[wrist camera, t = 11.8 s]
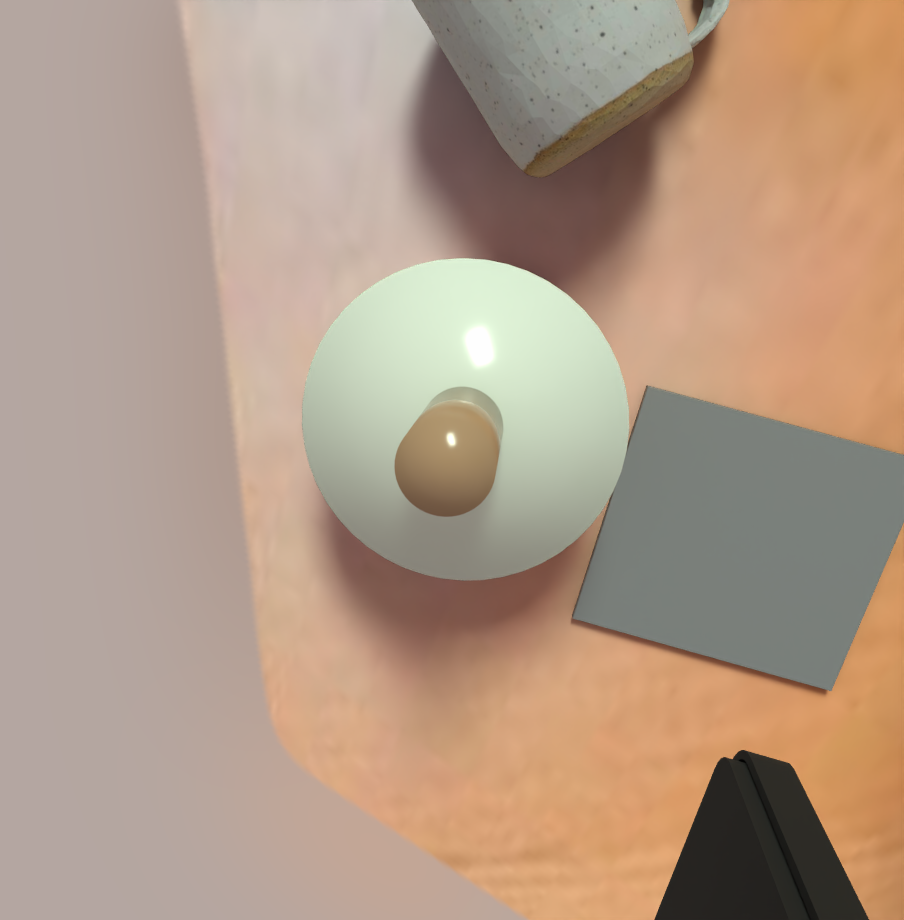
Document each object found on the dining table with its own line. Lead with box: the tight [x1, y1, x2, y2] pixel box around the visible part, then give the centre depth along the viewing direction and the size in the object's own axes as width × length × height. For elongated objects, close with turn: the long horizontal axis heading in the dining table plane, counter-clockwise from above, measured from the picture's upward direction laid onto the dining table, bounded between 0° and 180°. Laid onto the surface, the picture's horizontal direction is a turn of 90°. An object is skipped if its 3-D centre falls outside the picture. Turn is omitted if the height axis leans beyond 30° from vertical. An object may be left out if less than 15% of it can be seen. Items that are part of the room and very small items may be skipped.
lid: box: [302, 258, 629, 581], centre depth 27 cm, size 12×12×8 cm
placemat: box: [572, 386, 904, 691], centre depth 35 cm, size 12×11×1 cm
